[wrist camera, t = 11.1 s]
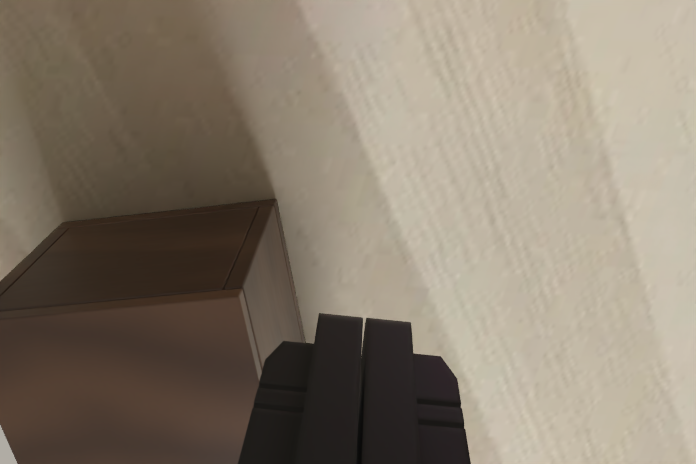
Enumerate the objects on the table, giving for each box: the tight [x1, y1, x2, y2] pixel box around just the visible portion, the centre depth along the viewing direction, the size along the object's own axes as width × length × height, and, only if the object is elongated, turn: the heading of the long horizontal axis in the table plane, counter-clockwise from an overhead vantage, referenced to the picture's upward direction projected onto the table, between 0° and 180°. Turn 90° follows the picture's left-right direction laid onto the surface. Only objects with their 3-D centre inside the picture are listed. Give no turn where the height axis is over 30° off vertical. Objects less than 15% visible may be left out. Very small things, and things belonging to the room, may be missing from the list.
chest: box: [0, 199, 306, 371], centre depth 33 cm, size 14×12×9 cm
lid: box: [0, 288, 262, 464], centre depth 28 cm, size 14×12×1 cm
